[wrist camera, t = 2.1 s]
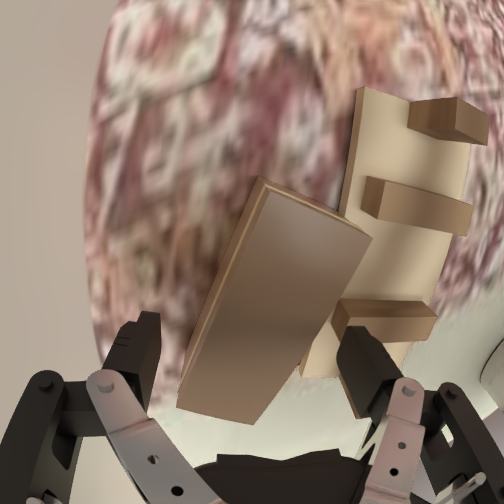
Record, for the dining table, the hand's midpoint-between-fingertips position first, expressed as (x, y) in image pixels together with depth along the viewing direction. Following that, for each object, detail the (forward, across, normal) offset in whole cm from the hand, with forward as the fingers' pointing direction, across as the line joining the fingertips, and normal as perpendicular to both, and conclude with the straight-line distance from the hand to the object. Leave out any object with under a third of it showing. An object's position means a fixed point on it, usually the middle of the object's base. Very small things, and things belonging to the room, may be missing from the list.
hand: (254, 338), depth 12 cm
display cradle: (+5, -8, -3) cm, 10 cm away
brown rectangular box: (+5, 0, 0) cm, 5 cm away
